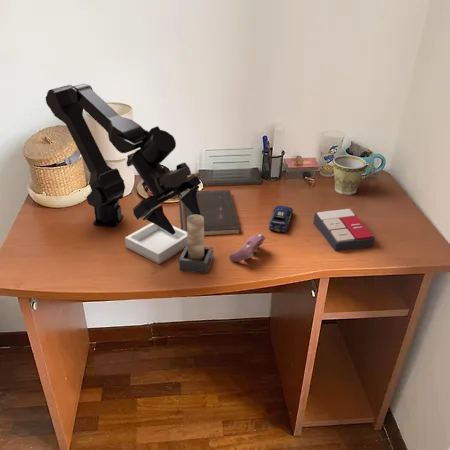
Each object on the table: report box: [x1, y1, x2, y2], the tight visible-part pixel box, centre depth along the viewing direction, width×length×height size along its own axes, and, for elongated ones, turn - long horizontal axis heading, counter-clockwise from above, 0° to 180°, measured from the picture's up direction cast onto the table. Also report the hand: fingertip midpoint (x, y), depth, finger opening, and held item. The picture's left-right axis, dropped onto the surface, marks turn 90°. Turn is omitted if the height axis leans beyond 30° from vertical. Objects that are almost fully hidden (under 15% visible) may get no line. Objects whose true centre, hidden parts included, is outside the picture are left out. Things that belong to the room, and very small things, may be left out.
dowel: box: [187, 214, 205, 261], centre depth 119 cm, size 4×4×13 cm
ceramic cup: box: [332, 154, 376, 196], centre depth 155 cm, size 13×10×10 cm
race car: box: [268, 205, 293, 233], centre depth 140 cm, size 15×7×4 cm, turn 171°
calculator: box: [313, 208, 376, 252], centre depth 134 cm, size 11×4×15 cm
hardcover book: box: [178, 189, 241, 236], centre depth 143 cm, size 16×23×2 cm
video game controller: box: [229, 232, 266, 263], centre depth 125 cm, size 10×5×7 cm, turn 148°
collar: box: [178, 245, 214, 275], centre depth 122 cm, size 7×7×3 cm
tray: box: [124, 222, 188, 265], centre depth 129 cm, size 12×12×3 cm
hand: (187, 225), depth 119 cm, fingers open, 9 cm apart
